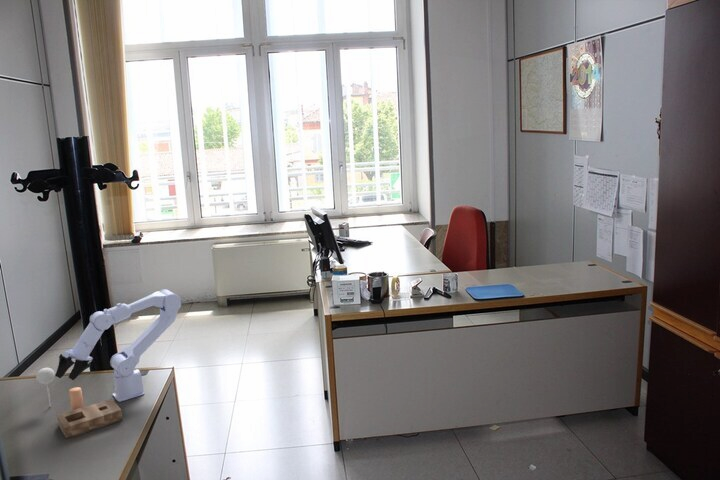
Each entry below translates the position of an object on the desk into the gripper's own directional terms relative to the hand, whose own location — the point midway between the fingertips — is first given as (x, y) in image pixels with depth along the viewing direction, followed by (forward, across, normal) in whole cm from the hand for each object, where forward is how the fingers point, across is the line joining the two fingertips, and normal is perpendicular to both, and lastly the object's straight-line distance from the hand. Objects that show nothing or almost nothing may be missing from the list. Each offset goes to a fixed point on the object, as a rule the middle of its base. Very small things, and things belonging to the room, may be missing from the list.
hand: (64, 377), depth 210 cm
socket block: (+8, -1, +17) cm, 19 cm away
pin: (+9, -8, +6) cm, 14 cm away
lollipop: (+13, -10, -5) cm, 17 cm away
